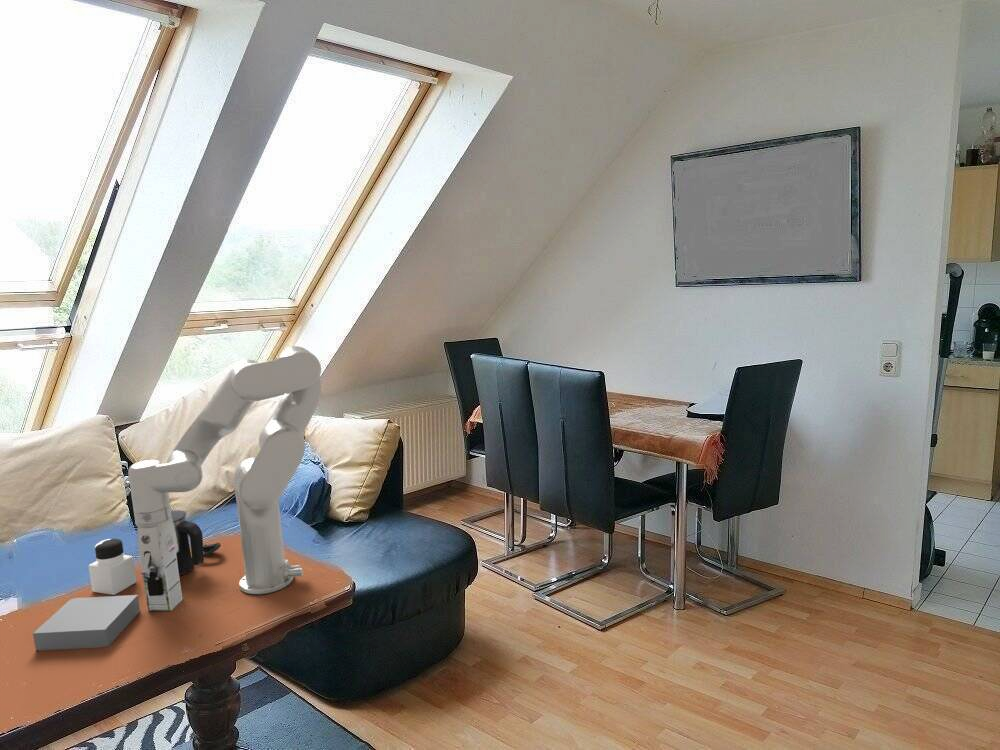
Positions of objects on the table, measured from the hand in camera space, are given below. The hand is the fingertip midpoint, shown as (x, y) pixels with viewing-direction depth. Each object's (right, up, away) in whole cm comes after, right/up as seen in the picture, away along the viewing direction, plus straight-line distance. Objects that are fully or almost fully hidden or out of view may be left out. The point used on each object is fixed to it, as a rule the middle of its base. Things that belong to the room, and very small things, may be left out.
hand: (163, 587), depth 171 cm
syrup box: (0, -5, +1) cm, 5 cm away
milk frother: (-3, -1, +23) cm, 23 cm away
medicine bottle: (-17, -3, +11) cm, 21 cm away
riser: (-12, -7, -9) cm, 16 cm away
